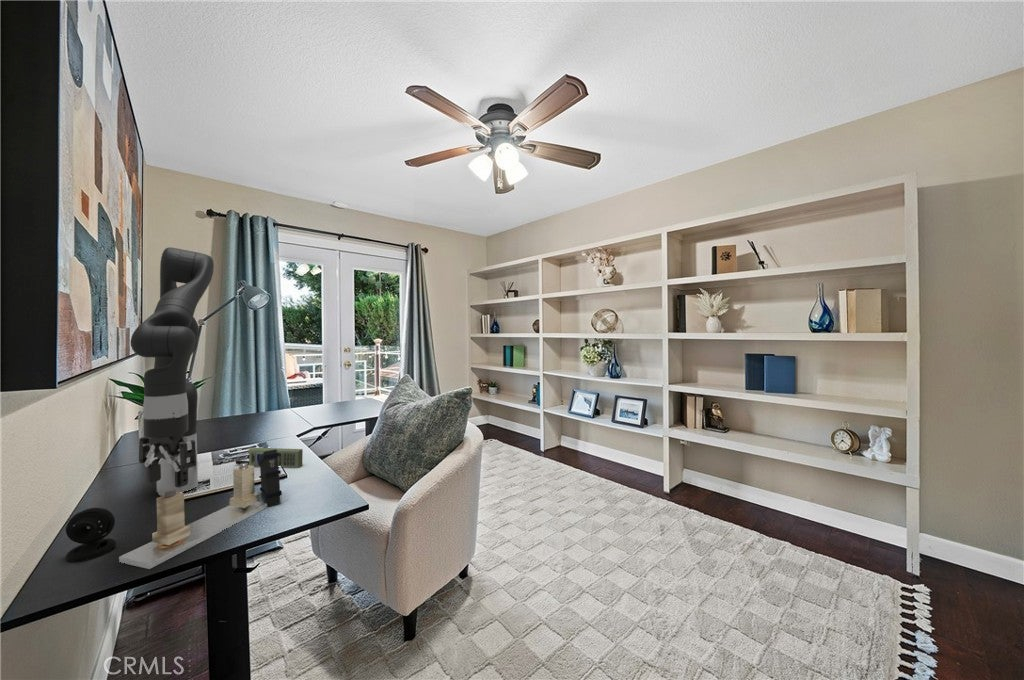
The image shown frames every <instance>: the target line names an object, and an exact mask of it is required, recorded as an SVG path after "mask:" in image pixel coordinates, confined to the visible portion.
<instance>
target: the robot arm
mask: <svg viewBox="0 0 1024 680" xmlns="http://www.w3.org/2000/svg"><path fill="white" fill-rule="evenodd" d="M214 266H215V265H214V259H213V257H211V256H210V255H209V254H206V253H202V252H196V251H191V250H187V249H182V248H178V247H166V248H165V249H164V250H163V251H162V254H161V258H160V266H159V268H160V269H159V300H158V302H157V304H156V307H155V309H154V312H153V313H152V314H151V315H150V316H149V317H147V318H146V319H145V320H144V321H143V322H141V323H140V324H139V325H138V326H137V328H135V330H134V332H133V333H132V335H131V338H130V347H131V350H132V352H133V353H135V354H136V355H137V356H138V357H143V358H154V363H153V364H154V365H153V368H151V369H150V368H149V369H147V370H146V371H144V374H143V390H144V391H143V392H144V394H143V395H144V397H143V398H144V399H143V404H142V414H143V417H142V418H143V419H142V420H143V421H142V422H143V423H142V425H143V436H144V437H143V436H142V437H140V438H139V439H138V441H139V443H138V462H139V463H140V464H144V466H145V468H146V470H147V471H146V473H147V477H146V478H147V483H151V484H153V483H155V482H156V493H158V494H157V495H159V496H160V497H161V496H164V492H166V491H168V490H176V492H184V491H187V490H190V489H193V488H195V487H197V488H198V486H199V479H198V478H199V477H198V475H199V470H198V438H197V437H198V436H197V435H198V433H197V432H198V431H197V429H198V428H197V427H198V425H197V424H198V400H199V399H198V396H199V395H198V390H197V389H198V388H197V387H196V384H194V383H193V382H187V371H188V367H189V363H190V359H191V356H192V355H193V354H194V352H195V351H196V350H197V347H198V340H199V332H200V327H199V324H198V321H197V320H196V318H195V317H194V314H195V311H196V308H197V305H198V304H199V303H200V301H201V299H202V297H203V295H204V294H205V293H206V291H207V289H208V287H209V285H210V284H211V282H212V278H213V274H214V268H215V267H214ZM177 283H180V284H182V285H180V286H178V285H177ZM195 489H196V488H195ZM193 490H194V489H193Z"/></svg>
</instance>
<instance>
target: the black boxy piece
mask: <svg viewBox="0 0 1024 680" xmlns="http://www.w3.org/2000/svg"><path fill="white" fill-rule="evenodd" d="M278 456H279V453H277V449H275V450H270V451H265V452H264V453H263V454H262V455H261V457H260V458H259V462H258V465H260V467H259V469H260V470H259V471H260V475H259V476H258V477H259V479H260V487H259V490H260V493H261V496H262V498H263V500H264V501H265V502H264V503H267V508H268V507H269V508H270V507H273V506H277V505H280V504H281V496H282V495H283V492H282V490H281V487H280V486H281V484H280V475H281V469H279V467H278Z"/></svg>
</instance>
